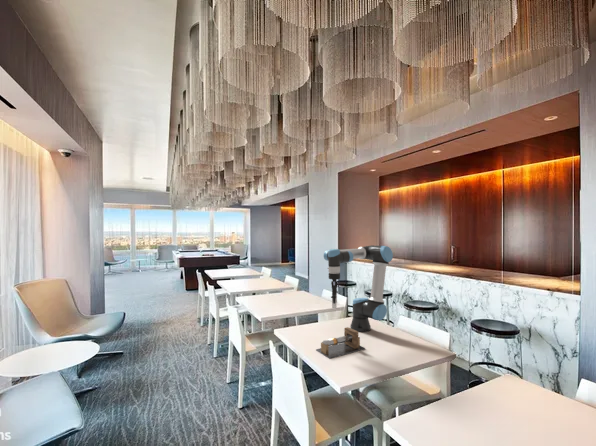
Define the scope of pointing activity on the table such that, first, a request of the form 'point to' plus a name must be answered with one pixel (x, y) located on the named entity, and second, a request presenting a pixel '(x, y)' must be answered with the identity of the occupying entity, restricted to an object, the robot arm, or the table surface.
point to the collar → (354, 337)
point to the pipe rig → (338, 347)
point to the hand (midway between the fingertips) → (334, 305)
